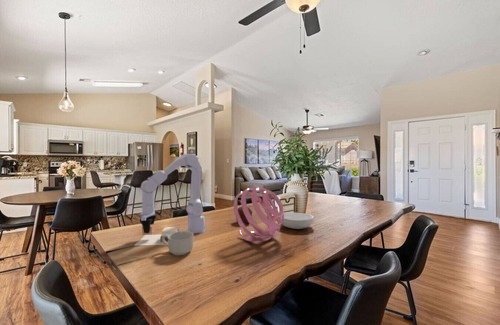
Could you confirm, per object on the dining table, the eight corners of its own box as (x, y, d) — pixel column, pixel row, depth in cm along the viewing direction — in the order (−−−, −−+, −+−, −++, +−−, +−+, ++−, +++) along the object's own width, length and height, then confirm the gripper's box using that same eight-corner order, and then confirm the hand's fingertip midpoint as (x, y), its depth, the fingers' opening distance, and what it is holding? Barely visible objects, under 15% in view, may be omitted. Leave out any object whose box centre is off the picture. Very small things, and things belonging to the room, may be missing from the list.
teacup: (198, 250, 108) (198, 232, 108) (183, 259, 98) (183, 240, 97) (172, 246, 112) (172, 229, 112) (156, 255, 102) (156, 236, 102)
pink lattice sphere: (213, 199, 127) (249, 172, 114) (248, 205, 147) (282, 182, 134) (226, 252, 112) (268, 227, 100) (262, 250, 132) (302, 229, 120)
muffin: (245, 225, 148) (245, 209, 147) (231, 223, 154) (231, 207, 153) (255, 221, 157) (255, 206, 157) (242, 219, 164) (242, 204, 163)
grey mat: (183, 234, 130) (183, 233, 130) (177, 245, 114) (177, 244, 114) (145, 235, 128) (145, 234, 128) (133, 246, 112) (133, 245, 112)
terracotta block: (154, 231, 123) (154, 224, 123) (151, 234, 118) (151, 226, 118) (145, 232, 122) (145, 224, 122) (142, 234, 118) (142, 226, 118)
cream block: (179, 231, 125) (179, 227, 125) (176, 236, 118) (176, 231, 118) (165, 232, 124) (165, 227, 124) (161, 236, 117) (161, 231, 117)
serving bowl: (318, 225, 148) (318, 214, 148) (306, 234, 131) (306, 222, 131) (287, 220, 160) (287, 210, 160) (272, 228, 142) (272, 217, 142)
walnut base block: (180, 236, 126) (180, 231, 126) (177, 241, 118) (177, 236, 118) (164, 236, 125) (164, 231, 125) (160, 241, 117) (160, 236, 117)
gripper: (145, 201, 127) (145, 227, 127) (134, 207, 113) (134, 236, 113) (158, 201, 128) (159, 227, 128) (149, 207, 113) (150, 235, 113)
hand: (148, 231), depth 120 cm, fingers closed on terracotta block, 4 cm apart
